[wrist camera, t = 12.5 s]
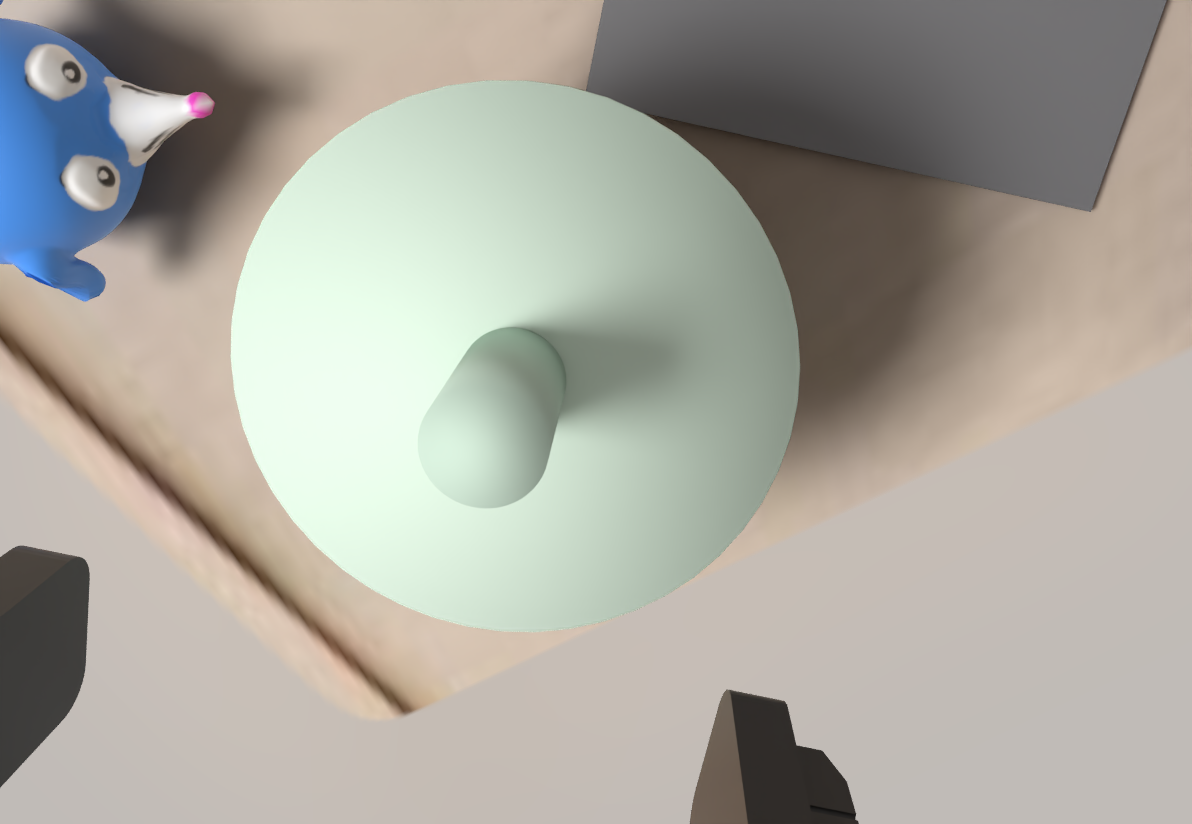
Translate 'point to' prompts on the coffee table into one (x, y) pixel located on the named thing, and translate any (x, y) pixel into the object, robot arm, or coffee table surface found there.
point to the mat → (895, 80)
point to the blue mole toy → (72, 152)
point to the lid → (515, 356)
